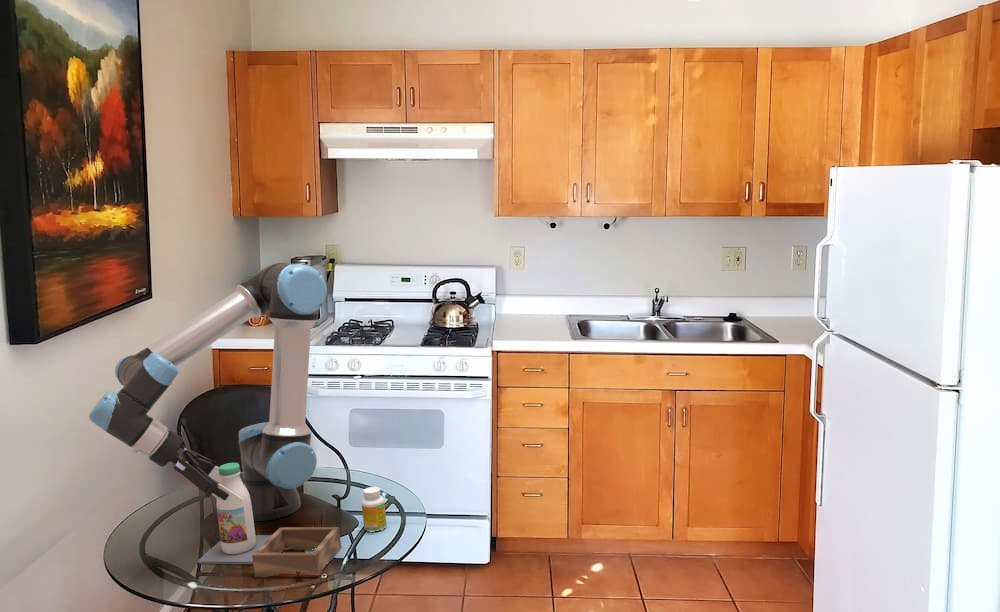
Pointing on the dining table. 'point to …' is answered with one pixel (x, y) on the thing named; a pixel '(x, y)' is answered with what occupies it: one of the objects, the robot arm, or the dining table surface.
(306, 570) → the walnut crate
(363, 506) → the supplement bottle
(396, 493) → the dining table surface
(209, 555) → the rubber mat
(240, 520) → the milk bottle
